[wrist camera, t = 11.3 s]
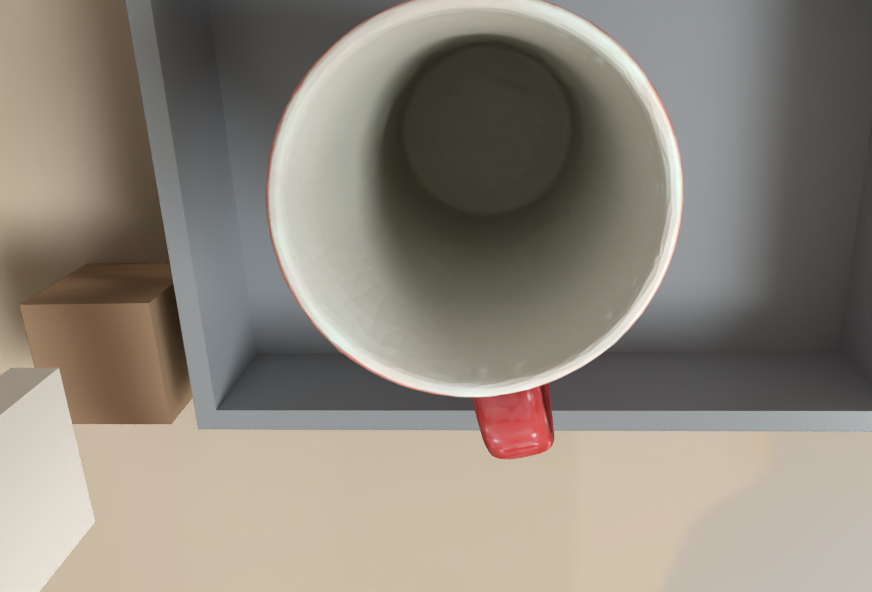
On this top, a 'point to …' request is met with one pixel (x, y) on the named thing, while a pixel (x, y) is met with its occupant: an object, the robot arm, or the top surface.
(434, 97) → the mug
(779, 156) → the tote
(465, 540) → the top surface
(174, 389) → the cube
